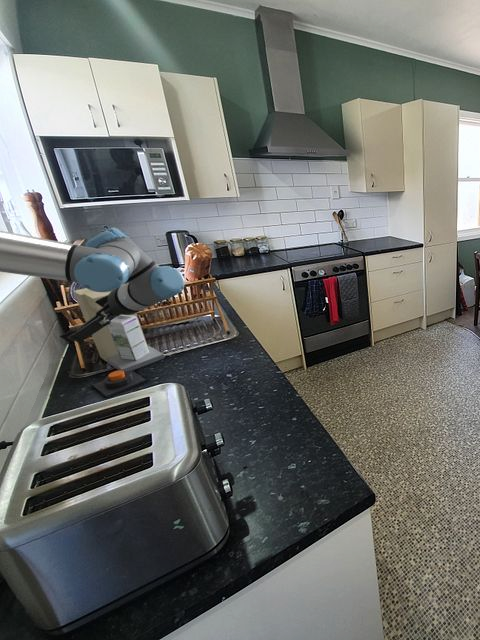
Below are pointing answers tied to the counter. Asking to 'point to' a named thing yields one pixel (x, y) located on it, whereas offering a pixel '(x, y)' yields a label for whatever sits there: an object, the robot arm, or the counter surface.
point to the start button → (116, 375)
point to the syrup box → (128, 337)
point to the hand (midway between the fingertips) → (83, 320)
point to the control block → (119, 384)
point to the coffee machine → (104, 336)
